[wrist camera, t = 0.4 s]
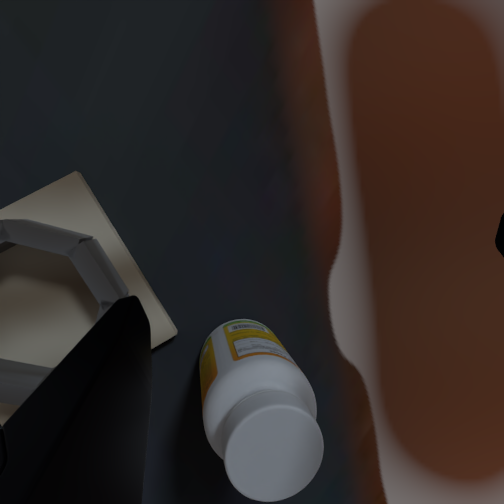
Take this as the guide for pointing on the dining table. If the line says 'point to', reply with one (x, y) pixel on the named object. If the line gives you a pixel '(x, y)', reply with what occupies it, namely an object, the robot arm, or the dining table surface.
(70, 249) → the collar
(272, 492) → the supplement bottle
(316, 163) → the dining table surface
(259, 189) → the dining table surface
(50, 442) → the robot arm
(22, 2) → the dining table surface
